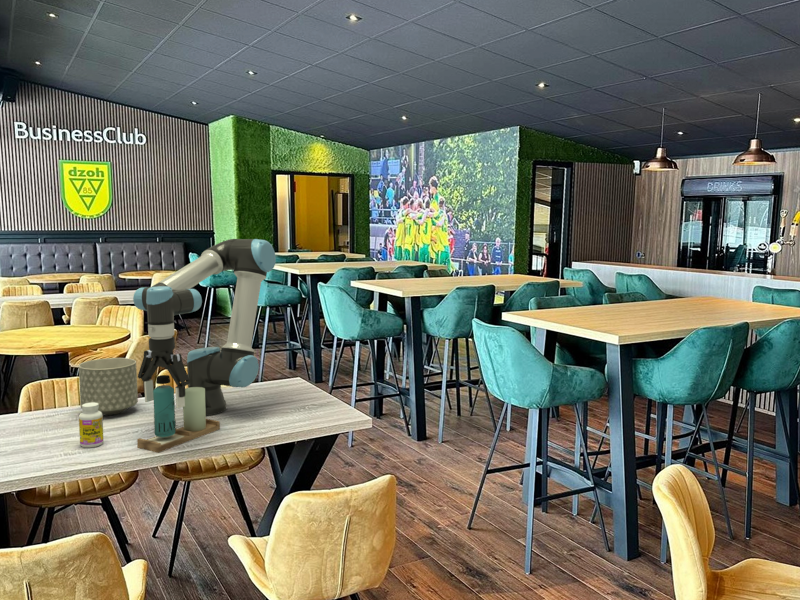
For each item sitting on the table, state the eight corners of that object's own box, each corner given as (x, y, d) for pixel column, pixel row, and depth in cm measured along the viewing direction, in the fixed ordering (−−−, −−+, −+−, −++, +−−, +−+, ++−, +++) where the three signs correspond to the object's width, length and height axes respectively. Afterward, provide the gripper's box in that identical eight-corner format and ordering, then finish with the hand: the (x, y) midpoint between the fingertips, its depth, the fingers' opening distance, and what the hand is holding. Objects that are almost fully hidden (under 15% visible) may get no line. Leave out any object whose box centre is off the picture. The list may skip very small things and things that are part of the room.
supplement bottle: (79, 449, 198) (77, 408, 197) (80, 442, 204) (78, 402, 203) (103, 446, 201) (101, 406, 200) (103, 439, 207) (102, 400, 206)
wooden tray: (137, 447, 200) (137, 439, 200) (200, 425, 223) (199, 417, 223) (158, 452, 196) (157, 444, 196) (219, 429, 219) (219, 421, 219)
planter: (139, 403, 249) (137, 356, 247) (136, 417, 231) (134, 367, 229) (84, 407, 243) (82, 359, 241) (77, 422, 225) (74, 370, 223)
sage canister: (179, 429, 213) (177, 390, 212) (195, 423, 220) (193, 386, 218) (194, 432, 210) (193, 393, 209) (210, 426, 216) (209, 388, 215)
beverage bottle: (155, 443, 199) (153, 379, 197) (152, 436, 205) (150, 374, 203) (177, 440, 202) (175, 377, 200) (174, 433, 208) (172, 372, 206)
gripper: (123, 335, 203) (127, 401, 206) (181, 343, 191) (184, 413, 194) (143, 331, 209) (146, 395, 212) (200, 338, 198) (203, 406, 200)
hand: (164, 404), depth 203 cm, fingers open, 13 cm apart
